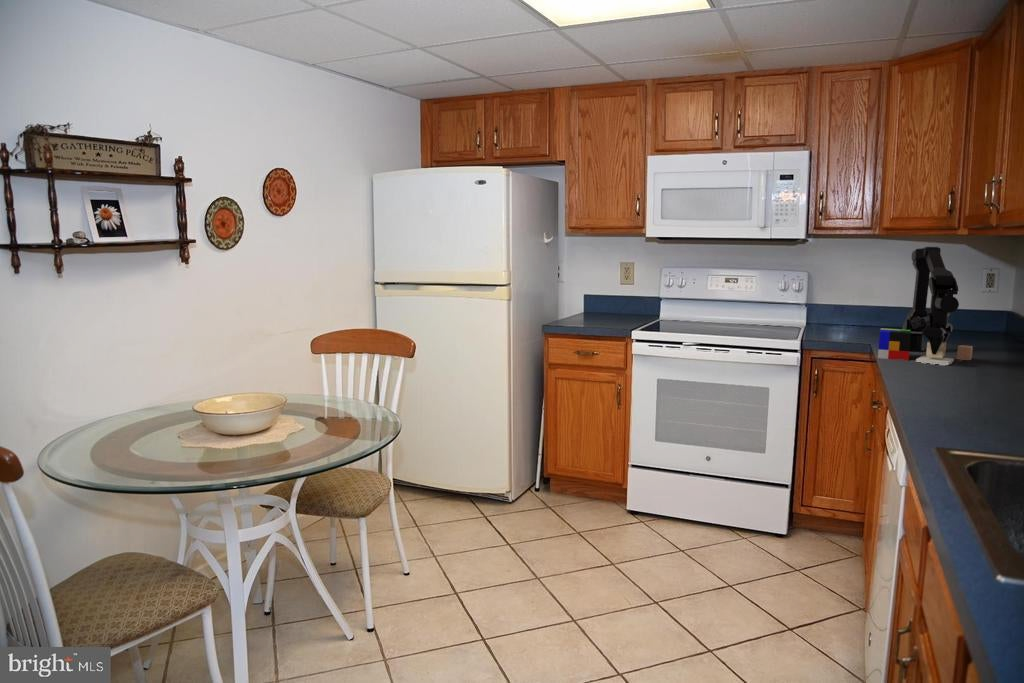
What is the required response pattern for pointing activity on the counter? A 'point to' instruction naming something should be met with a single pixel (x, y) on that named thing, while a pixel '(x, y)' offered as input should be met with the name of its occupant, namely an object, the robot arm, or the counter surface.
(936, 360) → the building plate
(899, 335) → the puzzle toy
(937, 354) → the maple brick
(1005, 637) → the counter surface
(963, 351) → the terracotta brick
